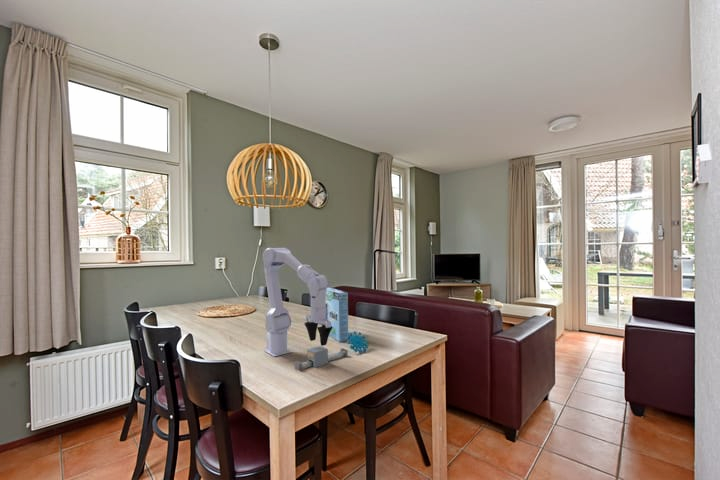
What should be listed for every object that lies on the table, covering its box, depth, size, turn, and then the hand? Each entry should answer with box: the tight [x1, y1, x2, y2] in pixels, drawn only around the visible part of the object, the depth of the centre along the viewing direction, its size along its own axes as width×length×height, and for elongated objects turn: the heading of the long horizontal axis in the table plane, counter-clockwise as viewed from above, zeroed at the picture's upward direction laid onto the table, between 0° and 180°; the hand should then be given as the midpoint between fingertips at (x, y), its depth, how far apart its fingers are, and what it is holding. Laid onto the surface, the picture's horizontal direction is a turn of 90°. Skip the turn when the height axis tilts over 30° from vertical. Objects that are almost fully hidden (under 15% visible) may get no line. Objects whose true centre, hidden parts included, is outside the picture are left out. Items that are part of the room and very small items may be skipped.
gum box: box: [326, 287, 349, 343], centre depth 157 cm, size 20×5×23 cm, turn 28°
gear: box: [346, 331, 371, 354], centre depth 137 cm, size 11×6×10 cm
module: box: [306, 345, 329, 368], centre depth 121 cm, size 5×6×6 cm
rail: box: [294, 348, 348, 371], centre depth 123 cm, size 3×22×2 cm, turn 131°
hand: (318, 342), depth 122 cm, fingers open, 7 cm apart
